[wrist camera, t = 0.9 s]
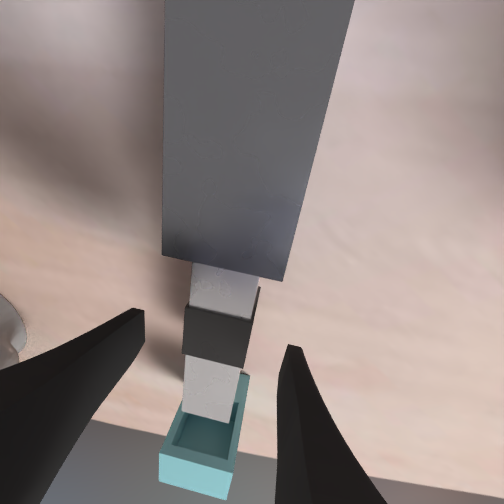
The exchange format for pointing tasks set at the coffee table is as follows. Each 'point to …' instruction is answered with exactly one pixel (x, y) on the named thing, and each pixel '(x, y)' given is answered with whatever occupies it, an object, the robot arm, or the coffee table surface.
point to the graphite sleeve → (243, 125)
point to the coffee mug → (10, 334)
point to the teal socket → (203, 449)
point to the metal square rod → (216, 338)
